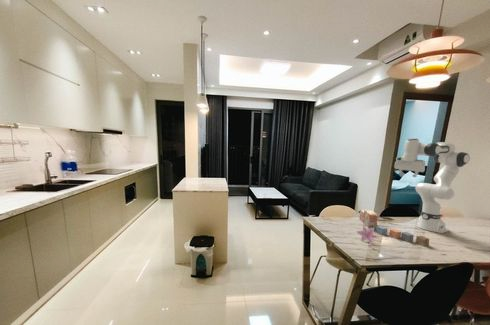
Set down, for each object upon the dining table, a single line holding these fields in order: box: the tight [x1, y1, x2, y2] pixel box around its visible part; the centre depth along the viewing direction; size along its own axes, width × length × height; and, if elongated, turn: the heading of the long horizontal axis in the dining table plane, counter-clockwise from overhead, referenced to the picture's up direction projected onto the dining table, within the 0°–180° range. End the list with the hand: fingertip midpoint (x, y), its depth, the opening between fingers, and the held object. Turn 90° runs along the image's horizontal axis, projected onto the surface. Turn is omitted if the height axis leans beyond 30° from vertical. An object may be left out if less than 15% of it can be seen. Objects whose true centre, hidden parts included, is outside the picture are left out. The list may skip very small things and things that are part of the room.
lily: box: [356, 225, 378, 245], centre depth 144 cm, size 12×12×10 cm
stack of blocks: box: [359, 209, 379, 230], centre depth 176 cm, size 21×6×12 cm, turn 168°
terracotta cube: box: [388, 228, 402, 239], centre depth 152 cm, size 5×5×5 cm
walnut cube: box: [415, 235, 430, 247], centre depth 142 cm, size 5×5×5 cm
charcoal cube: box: [400, 231, 414, 243], centre depth 148 cm, size 5×5×5 cm
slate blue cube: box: [375, 225, 388, 236], centre depth 158 cm, size 5×5×5 cm
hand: (407, 176), depth 159 cm, fingers open, 8 cm apart
